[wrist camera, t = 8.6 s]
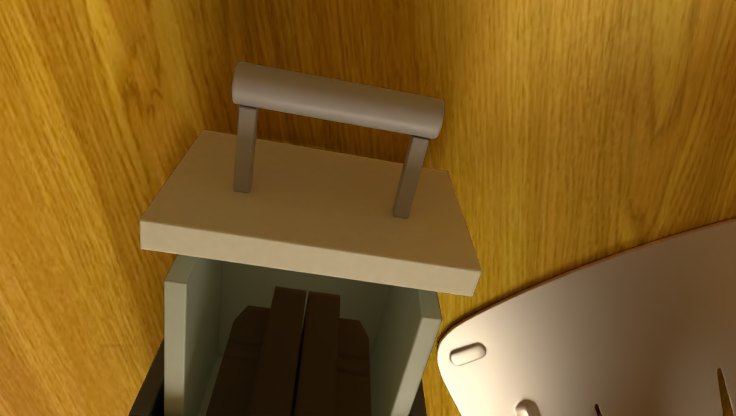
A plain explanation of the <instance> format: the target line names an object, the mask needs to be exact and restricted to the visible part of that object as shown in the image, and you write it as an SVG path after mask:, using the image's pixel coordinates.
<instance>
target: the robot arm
mask: <svg viewBox="0 0 736 416" xmlns="http://www.w3.org/2000/svg"><path fill="white" fill-rule="evenodd" d="M306 292H307V290H300V289H293V288H286V287H279V286H275V290H274V295H273V299H272V304H271V308H264V307H256V306H249V305H248V306H247V307H246V308H245V309H244V310H243V311H242V312H241V313H240V314H239V315H238V317H237V318H236V319H235V320H234V322H233V325H232V329H231V332H230V335H229V339H228V343H227V345H226V349H225V352H224V356H223V359H222V362H221V365H220V369H219V372H218V376H217V379H216V382H215V386H214V389H213V392H212V396H211V399H210V402H209V406H208V409H207V413H206V416H371V388H370V361H369V357H370V356H369V337H368V335H367V333H366V332H365V330H364V328H363V326H362V324H361V322H360V320H352V319H345V318H340V295H336V294H329V293H322V292H315V291H309V294H308V299H307V305H306V310H305V316H304V322H303V315H304V307H305V300H306ZM302 323H303V327H302ZM301 331H302V333H301Z"/></svg>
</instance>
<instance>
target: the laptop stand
mask: <svg viewBox="0 0 736 416" xmlns="http://www.w3.org/2000/svg"><path fill="white" fill-rule="evenodd" d="M437 361H438V365H439V369H440V372H441V375H442V378H443V380H444V383H445V384H446V386H447V388H448V390H449V392H450V394H451V396H452V398H453V400H454V402H455V403H456V405H457V407H458V409H459V411H460V413H461V415H462V416H598V415H597V412H596V410H595V407H594V406H595V404H598V406H599V409H600V412H601V415H602V416H723V411H722V404H721V397H720V389H719V382H718V375H717V370H718V368H720V369H721V373H722V376H723V380H724V383H725V387H726V390H727V394H728V397H729V401H730V405H731V408H732V412H733V415H734V416H736V218H734V219H730V220H726V221H722V222H719V223H715V224H711V225H707V226H704V227H700V228H696V229H693V230H689V231H686V232H683V233H679V234H676V235H673V236H669V237H666V238H663V239H660V240H656V241H653V242H650V243H647V244H644V245H641V246H638V247H635V248H632V249H629V250H626V251H623V252H620V253H617V254H615V255H612V256H609V257H606V258H603V259H601V260H598V261H595V262H592V263H590V264H587V265H584V266H582V267H579V268H577V269H574V270H571V271H569V272H566V273H564V274H561V275H559V276H556V277H554V278H551V279H549V280H547V281H544V282H542V283H540V284H537V285H535V286H533V287H530V288H528V289H526V290H524V291H521V292H519V293H517V294H515V295H512V296H510V297H508V298H506V299H504V300H502V301H499V302H497V303H495V304H493V305H491V306H489V307H487V308H485V309H483V310H481V311H479V312H477V313H475V314H473V315H471V316H470V317H468V318H466V319H464V320H462V321H461V322H459V323H457V324H456V325H455V326H453V327H452V328H451V329H449V330H448V331H447V332H446V333H445V335H444V336H443V337H442V338H441V340H440V341H439V344H438V348H437Z"/></svg>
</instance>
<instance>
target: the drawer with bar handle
mask: <svg viewBox="0 0 736 416" xmlns="http://www.w3.org/2000/svg"><path fill="white" fill-rule="evenodd" d="M232 100H233V103H235V104H239V105H240V106H239V113H238V127H237V135H233V134H227V133H221V132H215V131H210V130H202V132H201V133H200V135H199V136H198V137H197V139H196V140H195V142H194V143H193V144H192V146H191V147H190V149H189V150H188V152H187V153H186V154H185V156H184V157H183V159H182V160H181V161H180V163H179V164H178V166H177V167H176V168H175V170H174V171H173V173H172V174H171V176H170V177H169V178H168V180H167V181H166V183H165V184H164V185H163V187H162V188H161V190H160V191H159V193H158V194H157V195H156V197H155V198H154V200H153V201H152V202H151V204H150V205H149V207H148V208H147V209H146V211H145V212H144V214H143V215H142V217H141V218H140V220H139V223H140V248H141V249H145V250H152V251H159V252H166V253H173V254H178V255H177V257H176V258H175V260H174V262H173V264H172V266H171V268H170V270H169V272H168V274H167V276H166V278H165V279H164V416H206V413H207V409H208V406H209V402H210V399H211V396H212V392H213V389H214V386H215V382H216V379H217V376H218V372H219V369H220V365H221V362H222V359H223V356H224V352H225V349H226V345H227V343H228V339H229V335H230V332H231V329H232V325H233V322H234V320H235V319H236V318H237V317H238V315H239V314H240V313H241V312H242V311H243V310H244V309H245V308H246V307H247V306H248V305H249V306H256V307H264V308H271V304H272V299H273V295H274V290H275V286H279V287H286V288H293V289H300V290H307V292H306V300H305V307H304V315H303V322H304V316H305V310H306V305H307V299H308V294H309V291H315V292H322V293H329V294H336V295H340V318H345V319H352V320H360V322H361V324H362V326H363V328H364V330H365V332H366V333H367V335H368V337H369V356H370V357H369V361H370V388H371V416H409V413H410V410H411V407H412V404H413V402H414V399H415V396H416V393H417V390H418V387H419V384H420V382H421V379H422V376H423V373H424V370H425V367H426V364H427V361H428V359H429V356H430V353H431V350H432V347H433V344H434V341H435V339H436V336H437V333H438V330H439V327H440V324H441V321H442V315H441V310H440V305H439V301H438V296H437V292H443V293H449V294H456V295H463V296H470V297H471V296H473V294H474V291H475V288H476V286H477V283H478V280H479V278H480V275H481V272H482V270H481V267H480V264H479V261H478V258H477V255H476V252H475V249H474V246H473V243H472V240H471V237H470V234H469V231H468V228H467V225H466V222H465V220H464V217H463V214H462V211H461V208H460V205H459V202H458V199H457V196H456V193H455V190H454V187H453V184H452V181H451V178H450V175H449V172H448V171H443V170H438V169H432V168H426V167H422V166H423V162H424V158H425V155H426V151H427V147H428V144H429V138H431V139H435V138H437V136H438V134H439V132H440V130H441V127H442V123H443V118H444V111H445V104H444V100H443V99H441V98H436V97H430V96H425V95H419V94H414V93H409V92H403V91H398V90H393V89H387V88H382V87H377V86H371V85H366V84H361V83H355V82H350V81H344V80H339V79H334V78H328V77H323V76H318V75H312V74H307V73H302V72H296V71H291V70H285V69H280V68H275V67H269V66H264V65H259V64H253V63H248V62H243V61H239V62H238V63H237V65H236V67H235V71H234V75H233V81H232ZM259 108H262V109H268V110H273V111H279V112H285V113H290V114H296V115H301V116H307V117H313V118H318V119H324V120H330V121H335V122H341V123H347V124H352V125H358V126H363V127H369V128H375V129H380V130H386V131H392V132H397V133H403V134H408V135H411V136H410V140H409V144H408V148H407V152H406V156H405V160H404V164H402V163H397V162H391V161H385V160H379V159H373V158H367V157H362V156H356V155H350V154H344V153H338V152H332V151H326V150H321V149H315V148H309V147H303V146H297V145H291V144H286V143H280V142H274V141H268V140H262V139H256V135H257V124H258V113H259ZM302 327H303V323H302ZM301 333H302V331H301Z"/></svg>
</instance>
